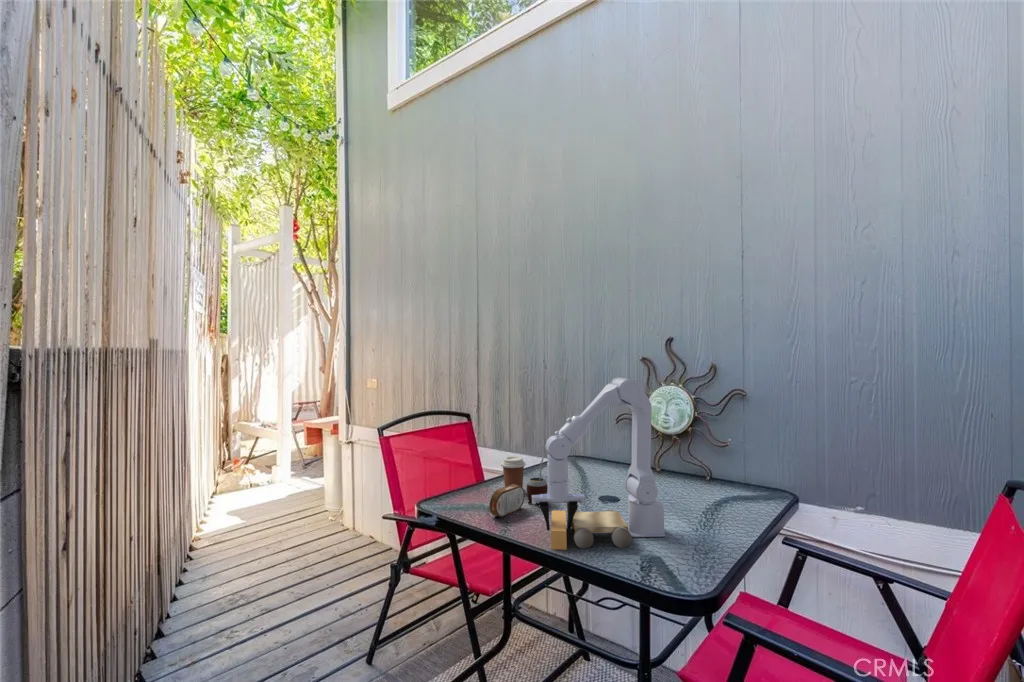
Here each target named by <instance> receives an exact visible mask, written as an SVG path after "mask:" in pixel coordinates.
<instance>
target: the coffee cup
mask: <svg viewBox="0 0 1024 682" xmlns="http://www.w3.org/2000/svg"><path fill="white" fill-rule="evenodd" d="M526 464H527V463H526V461H524V459H523V457H522V456H515V455H514V456H512V455H511V456H506V457H504V458H503V461H502V462H500V466H501V467H502V471H503V479H504V480H503V481H504V487H506V486H509V485H512V484H516V485H518V486H521V487H522V488H523V487H524V473H525V472H524V469H525V468H524V467H525V466H526ZM523 489H524V488H523Z"/></svg>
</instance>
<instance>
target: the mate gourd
mask: <svg viewBox="0 0 1024 682" xmlns="http://www.w3.org/2000/svg"><path fill="white" fill-rule="evenodd" d="M544 459H545V455H542V458H541V461H540V464H539V476H538V477H531V478H529V479H528V481H527V482H526V483H527V484H526V495H527V498H528V503H532V495H540V494H548V482H547V480H545V478H543V477H542V471H543V470H542V469H543V462H544ZM537 504H538V505H539V503H537ZM537 504H536V505H537ZM538 505H537V506H538Z"/></svg>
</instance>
